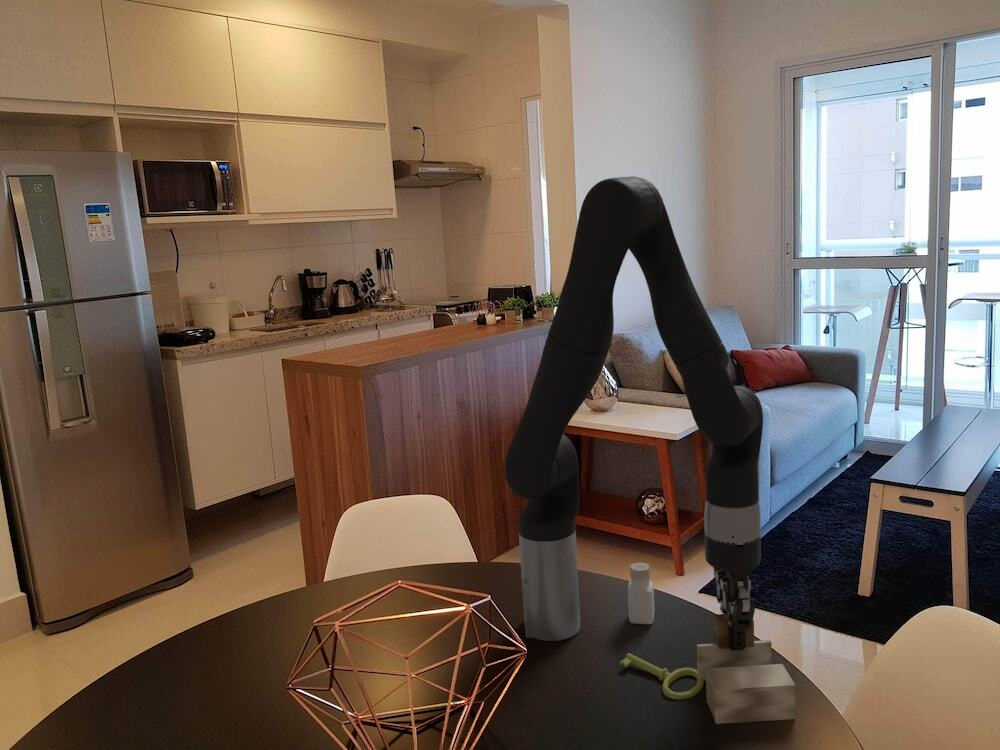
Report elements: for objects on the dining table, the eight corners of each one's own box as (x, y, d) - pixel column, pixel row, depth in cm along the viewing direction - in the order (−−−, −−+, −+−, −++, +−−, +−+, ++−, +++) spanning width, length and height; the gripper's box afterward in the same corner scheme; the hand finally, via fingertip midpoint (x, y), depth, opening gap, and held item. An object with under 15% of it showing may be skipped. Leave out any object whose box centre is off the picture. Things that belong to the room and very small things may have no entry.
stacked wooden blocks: (705, 695, 114) (703, 635, 112) (696, 673, 119) (694, 615, 117) (780, 690, 114) (780, 630, 112) (768, 669, 119) (767, 611, 117)
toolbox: (716, 723, 108) (715, 689, 107) (706, 701, 113) (705, 668, 112) (795, 719, 108) (795, 685, 107) (782, 696, 113) (782, 663, 112)
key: (625, 663, 125) (624, 650, 124) (706, 678, 119) (706, 665, 119) (611, 689, 118) (610, 676, 118) (696, 706, 113) (696, 693, 113)
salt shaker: (628, 624, 135) (626, 571, 133) (630, 612, 139) (628, 560, 137) (653, 625, 134) (651, 572, 132) (654, 614, 138) (652, 561, 136)
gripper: (693, 513, 120) (696, 621, 124) (718, 552, 107) (720, 672, 110) (744, 510, 120) (746, 617, 124) (775, 548, 107) (776, 668, 110)
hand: (734, 642), depth 117 cm, fingers closed on stacked wooden blocks, 2 cm apart
